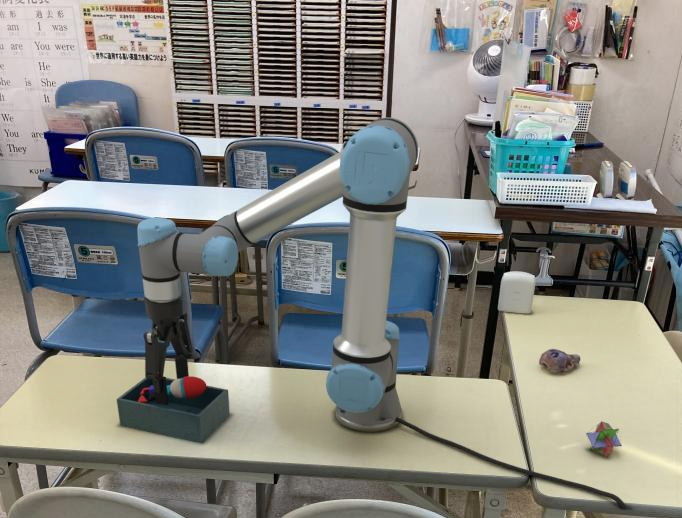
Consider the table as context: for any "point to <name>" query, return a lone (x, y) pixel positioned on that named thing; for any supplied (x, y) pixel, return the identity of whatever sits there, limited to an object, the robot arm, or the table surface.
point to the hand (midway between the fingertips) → (173, 394)
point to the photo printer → (516, 292)
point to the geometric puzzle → (604, 438)
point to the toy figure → (179, 389)
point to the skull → (559, 361)
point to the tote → (174, 412)
